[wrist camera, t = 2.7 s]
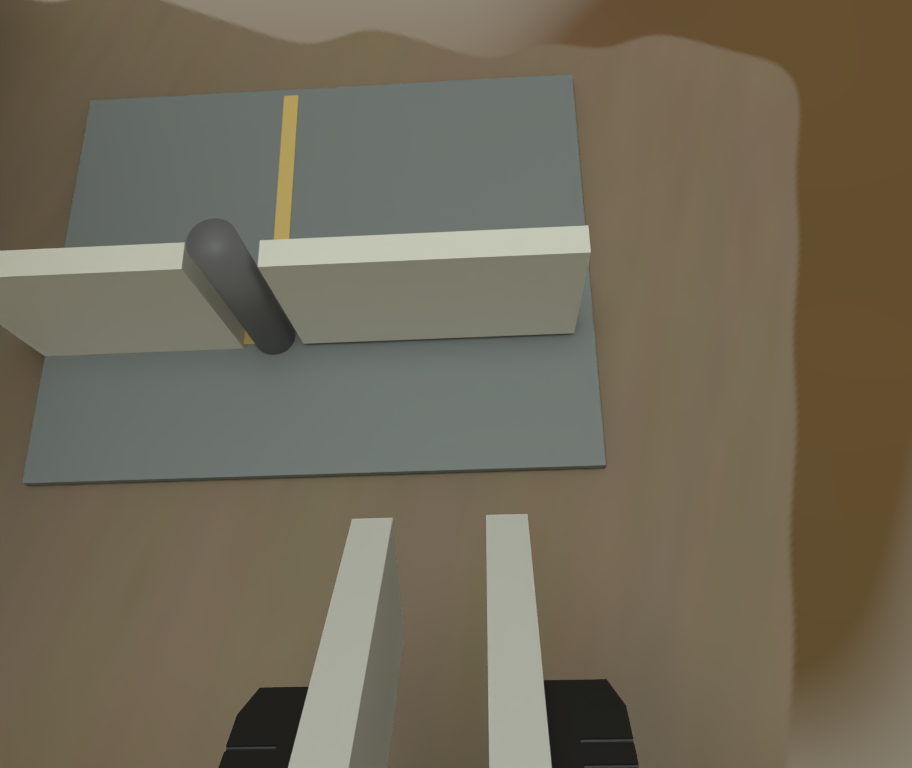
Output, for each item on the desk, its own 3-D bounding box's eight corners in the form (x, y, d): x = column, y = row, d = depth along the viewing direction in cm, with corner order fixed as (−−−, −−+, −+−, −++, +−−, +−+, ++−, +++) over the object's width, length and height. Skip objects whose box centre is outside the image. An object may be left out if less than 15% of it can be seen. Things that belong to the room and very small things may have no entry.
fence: (43, 363, 39) (-84, 276, 30) (49, 326, 40) (-73, 231, 31) (294, 354, 38) (235, 262, 30) (296, 316, 39) (239, 217, 31)
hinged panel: (303, 343, 38) (257, 266, 31) (304, 321, 38) (259, 240, 31) (574, 333, 37) (590, 252, 30) (572, 310, 38) (588, 225, 31)
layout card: (27, 485, 37) (20, 482, 37) (94, 106, 45) (89, 99, 44) (604, 467, 36) (606, 464, 35) (571, 80, 44) (572, 72, 43)
